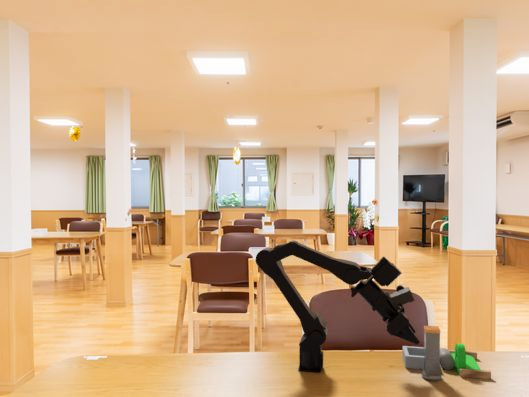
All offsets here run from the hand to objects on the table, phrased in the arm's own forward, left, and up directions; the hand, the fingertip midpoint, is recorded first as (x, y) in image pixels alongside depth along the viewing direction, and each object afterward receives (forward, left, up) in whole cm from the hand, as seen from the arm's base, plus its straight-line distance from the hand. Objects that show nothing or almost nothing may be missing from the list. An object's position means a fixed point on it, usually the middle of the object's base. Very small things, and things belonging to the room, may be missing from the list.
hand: (416, 337), depth 127 cm
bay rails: (+16, +10, -11) cm, 22 cm away
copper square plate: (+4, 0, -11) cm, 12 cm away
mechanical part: (+15, +10, -11) cm, 21 cm away
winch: (+5, +10, -11) cm, 15 cm away
